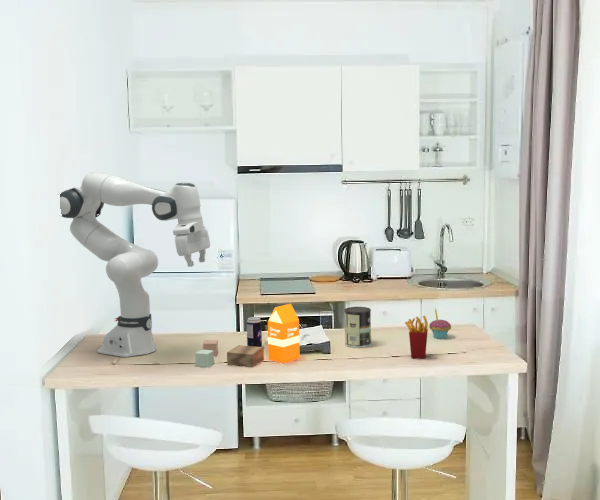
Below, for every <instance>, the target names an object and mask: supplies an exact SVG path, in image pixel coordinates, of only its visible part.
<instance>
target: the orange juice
mask: <svg viewBox="0 0 600 500" xmlns="http://www.w3.org/2000/svg"><path fill="white" fill-rule="evenodd" d="M267 344H268V360H269V361H273V362H277V363H282V364H285V363H289V362H291V361H294V360H297V359H300V358H301V357H300V352H301V351H300V349H301V348H300V319H299V317H298V315H297V313H296V311H295V309H294V307H293V305H292V303H288V304H284V305H279V306H275V307H274V309H273V311H272V313H271V315H270V317H269V319H268V320H267Z"/></svg>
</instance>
